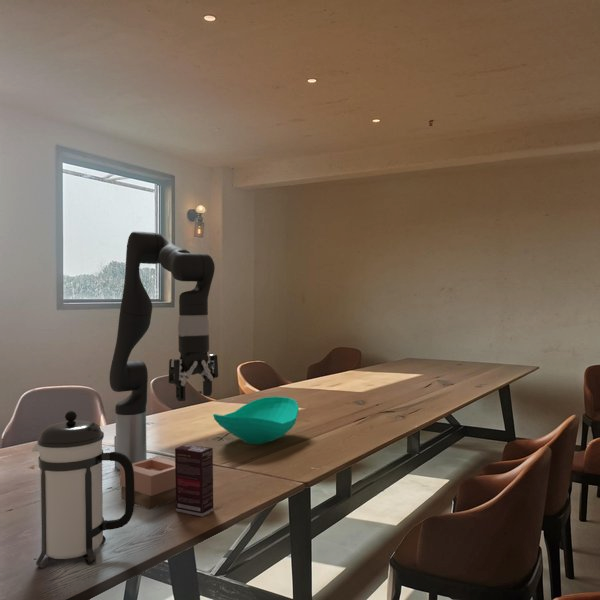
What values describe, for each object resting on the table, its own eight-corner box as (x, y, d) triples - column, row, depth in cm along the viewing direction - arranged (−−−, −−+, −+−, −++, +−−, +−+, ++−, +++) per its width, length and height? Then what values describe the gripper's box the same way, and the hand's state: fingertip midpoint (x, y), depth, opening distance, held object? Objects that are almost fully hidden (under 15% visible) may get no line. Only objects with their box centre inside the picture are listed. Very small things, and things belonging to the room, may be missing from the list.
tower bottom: (121, 501, 149) (121, 486, 149) (158, 488, 158) (158, 474, 158) (149, 511, 142) (149, 495, 142) (186, 497, 151) (186, 482, 151)
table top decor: (253, 426, 230) (252, 394, 230) (314, 433, 218) (314, 399, 218) (194, 451, 194) (193, 413, 194) (263, 461, 182) (263, 420, 182)
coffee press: (55, 582, 106) (53, 423, 106) (20, 556, 117) (18, 412, 116) (137, 550, 119) (135, 408, 119) (98, 529, 129) (97, 399, 129)
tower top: (120, 485, 149) (120, 466, 149) (156, 474, 159) (156, 456, 159) (151, 495, 141) (150, 476, 141) (187, 483, 151) (187, 464, 151)
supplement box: (214, 510, 140) (213, 447, 140) (202, 517, 136) (201, 452, 136) (187, 505, 144) (186, 443, 144) (174, 511, 140) (173, 448, 140)
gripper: (204, 331, 148) (205, 392, 148) (161, 334, 137) (161, 401, 137) (224, 332, 143) (225, 395, 144) (181, 335, 132) (182, 404, 132)
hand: (194, 398), depth 140 cm, fingers open, 8 cm apart
